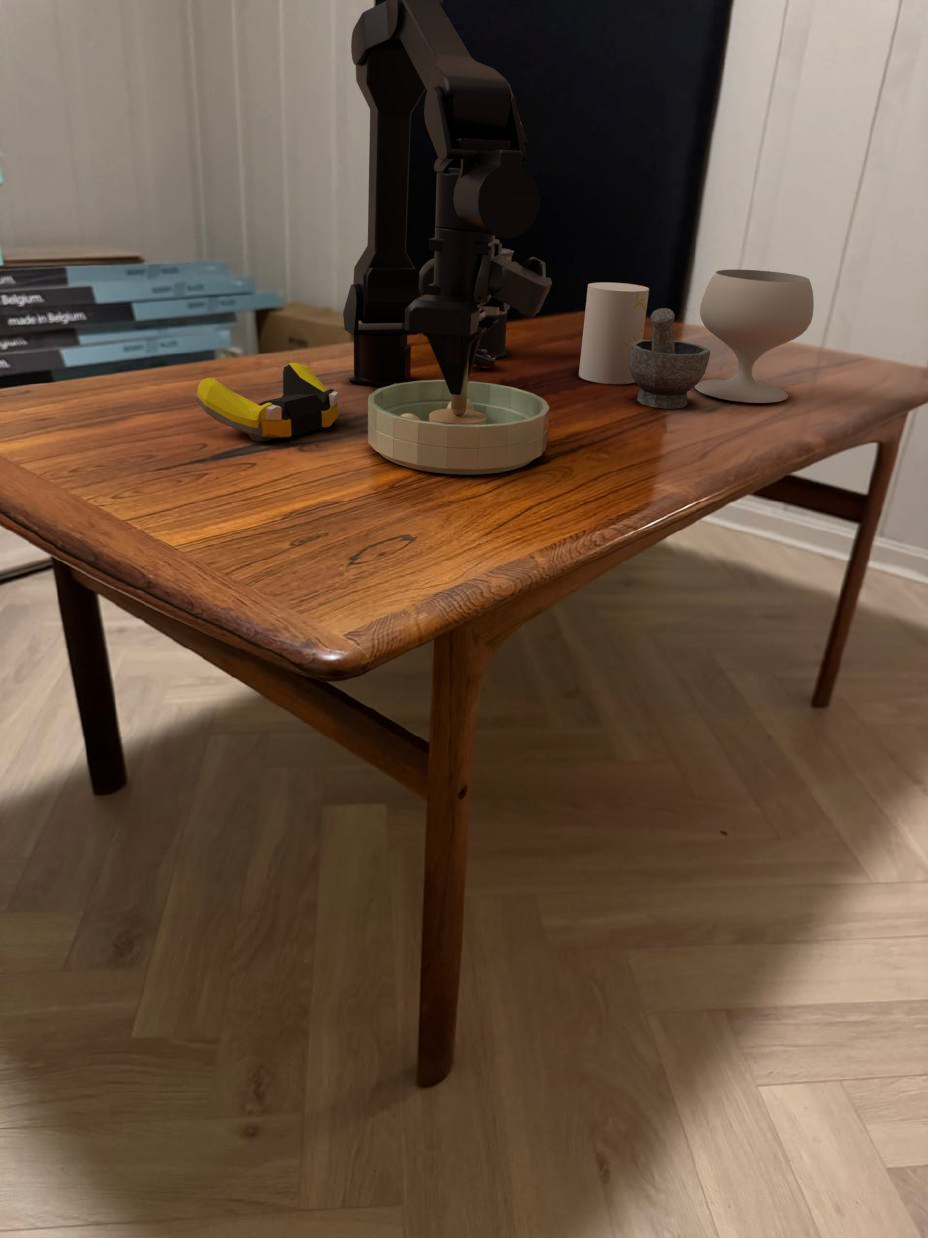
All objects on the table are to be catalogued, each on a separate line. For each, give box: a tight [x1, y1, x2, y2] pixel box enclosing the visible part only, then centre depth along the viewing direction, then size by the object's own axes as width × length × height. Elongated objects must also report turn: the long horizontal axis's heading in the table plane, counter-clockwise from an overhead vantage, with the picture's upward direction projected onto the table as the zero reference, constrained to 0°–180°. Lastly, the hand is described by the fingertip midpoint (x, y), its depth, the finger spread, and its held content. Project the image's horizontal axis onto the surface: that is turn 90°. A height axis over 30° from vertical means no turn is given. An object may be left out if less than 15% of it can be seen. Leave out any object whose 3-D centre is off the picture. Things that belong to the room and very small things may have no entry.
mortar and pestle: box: [628, 307, 711, 410], centre depth 114 cm, size 11×9×12 cm
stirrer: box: [429, 360, 487, 425], centre depth 94 cm, size 6×6×10 cm
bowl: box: [367, 379, 550, 476], centre depth 94 cm, size 18×18×5 cm
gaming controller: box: [196, 361, 340, 442], centre depth 98 cm, size 15×6×10 cm
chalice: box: [694, 269, 815, 404], centre depth 120 cm, size 14×14×15 cm
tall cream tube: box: [578, 282, 650, 385], centre depth 126 cm, size 8×8×12 cm
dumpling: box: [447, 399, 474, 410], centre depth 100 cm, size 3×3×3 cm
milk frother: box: [418, 247, 515, 369], centre depth 132 cm, size 14×16×15 cm
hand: (458, 392), depth 94 cm, fingers closed on stirrer
